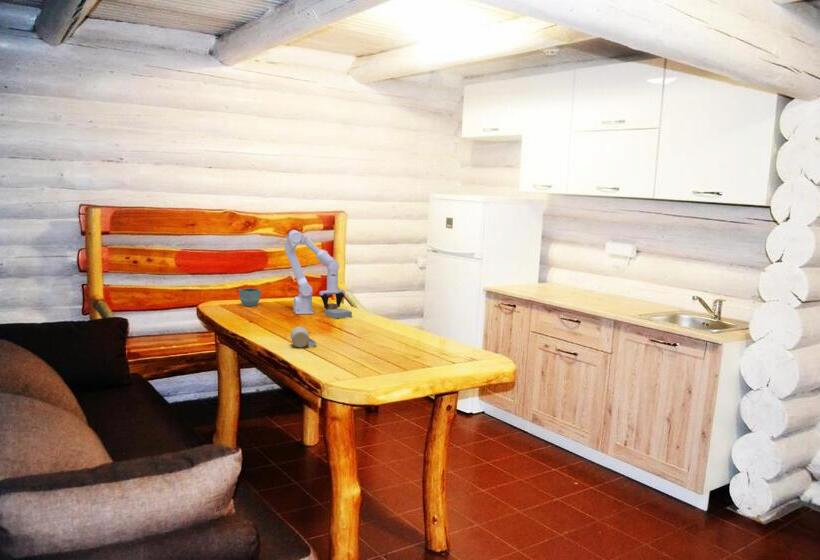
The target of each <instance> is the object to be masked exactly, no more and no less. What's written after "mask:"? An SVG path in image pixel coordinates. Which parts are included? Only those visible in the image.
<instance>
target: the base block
mask: <svg viewBox="0 0 820 560" xmlns="http://www.w3.org/2000/svg"><path fill="white" fill-rule="evenodd" d="M324 316H325V317H327V316H328V317H329V318H331V317H332V318H331V319H334V318H335V320H338V319H337V318H341V319H346V318H345V317H350V318H352V317H353V312H352V311H350V310H348V309H345V308H338V309H331V310H326V309H325V311H324Z"/></svg>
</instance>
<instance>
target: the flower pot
mask: <svg viewBox="0 0 820 560" xmlns="http://www.w3.org/2000/svg"><path fill="white" fill-rule="evenodd" d="M238 293H239V299H240V302H241V304H242V305H243V306H244V307H249V308H251V307H256V306H257V305H258V303H260V300H261V295H262V294H261V293H262V290H261V289H257V288H251V287H250V288H249V287H248V288H243V289H242V288H241V289H238Z"/></svg>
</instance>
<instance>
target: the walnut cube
mask: <svg viewBox="0 0 820 560" xmlns="http://www.w3.org/2000/svg"><path fill="white" fill-rule="evenodd" d="M331 309H339V307H338V305H337V304H336V303H328V308H325V310H331Z"/></svg>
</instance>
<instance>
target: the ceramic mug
mask: <svg viewBox="0 0 820 560" xmlns="http://www.w3.org/2000/svg"><path fill="white" fill-rule="evenodd" d="M290 340H291V343H292V345H293V346H294V347H296V348H298V347H299V348H305V347H306V346H307V345H308V346H311V347H314V346H315V347H316V346H317V341H315V340H314V339H313V338H310V335H309V332H308V329H306V328H305V327H303V326H297V327H294V328H293V329H292V331H290Z"/></svg>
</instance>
